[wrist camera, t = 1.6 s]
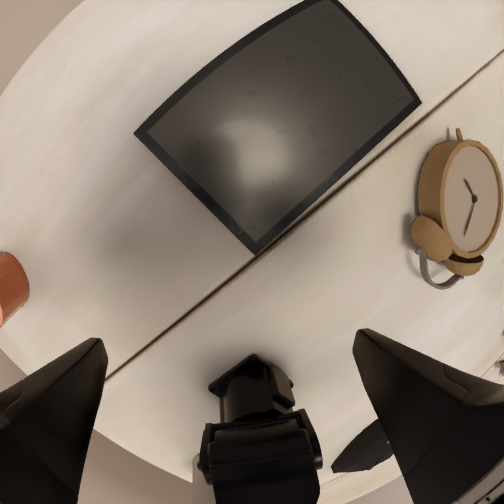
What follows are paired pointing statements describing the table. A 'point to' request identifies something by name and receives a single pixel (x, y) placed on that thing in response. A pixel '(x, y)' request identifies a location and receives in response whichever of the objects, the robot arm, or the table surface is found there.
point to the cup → (201, 487)
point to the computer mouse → (364, 450)
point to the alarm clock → (457, 208)
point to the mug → (502, 368)
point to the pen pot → (11, 287)
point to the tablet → (280, 118)
